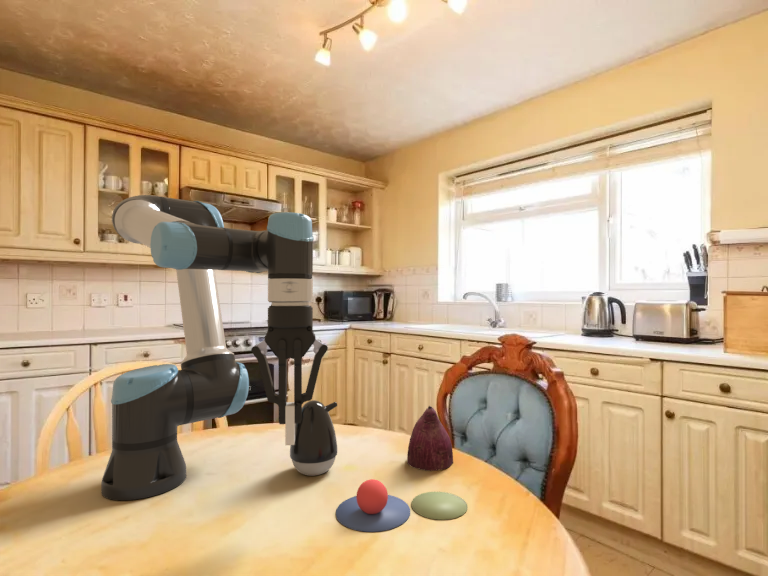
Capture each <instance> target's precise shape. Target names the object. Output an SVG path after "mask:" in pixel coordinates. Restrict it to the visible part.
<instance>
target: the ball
mask: <svg viewBox="0 0 768 576" xmlns="http://www.w3.org/2000/svg"><path fill="white" fill-rule="evenodd" d="M388 495H389V494H388V490H387V488H386V486H385V484H384V483H383V482H382V481H380V480H377V479H375V478H373V479H372V478H371V479H370V478H369V479H366V480H365V481H364V482H362V483H361V484H360V485H359V487H358V489H357V492H356V495H355V496H356V498H357V503H358V506H359V507H360V509H361V510H362V511H364V512H365V513H367V514H377V513H379V512H380V511H382V510H383V509H384V507H385V506H386V504H387V500H388Z"/></svg>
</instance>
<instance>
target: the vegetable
mask: <svg viewBox="0 0 768 576" xmlns="http://www.w3.org/2000/svg"><path fill="white" fill-rule="evenodd" d="M436 411H437V410H436V409H435V408H434V407H432V406H431V405H428V407H427V408H426V409H425V410H424V412H423V413H422V415H420V417H419V418H418V420H416V422H415V424H414V427H413V429H412V431H411V435H410V438H409V443H408V448H407V455H406V456H407V458H406V461H407V464H408V466H409V467H412V468H414V469H418V470H422V471H425V472H427V471H428V472H436V471H438V472H439V471H442V470H446V469H449V468H450V467H451V466H452V465H453V464H454V454H453V452H454V451H453V445H452V441H451V437H450V436H449V434H448V432H447V430H446V427H444V425H443V423H442V422H441V421H440V419H439V417H438V413H437V412H436Z"/></svg>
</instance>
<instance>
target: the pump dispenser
mask: <svg viewBox="0 0 768 576" xmlns="http://www.w3.org/2000/svg"><path fill="white" fill-rule="evenodd" d="M336 407H338V402H336V401H334V402H331V403H330V404H326V405H324V403H323V402H321V401H319V400H316V399H315V400H312V399H311V400H310V401H306V402H304V403H303V404H302V420H301V423H296V424H295V444H294V445H289V446H290V447H289V457H290V459H291V463H292V465H293V467H294V468H295V470H296V471H297V472H299V473H300V474H303V475H304V476H305V475H306V476H309V477H310V476H314V477H315V476H319V475H323V474H325V473H326V472H328V471H329V470H330V469H331V468H332V467H333V465H334V463H335V460H336V456H337V455H338V443H337V442H338V441H337V437H336V430H335V426H334V424H333V421H332V418H331V415H330V413H329V412H331V411H332V410H333V409H335V408H336Z"/></svg>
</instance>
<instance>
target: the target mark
mask: <svg viewBox="0 0 768 576" xmlns="http://www.w3.org/2000/svg"><path fill="white" fill-rule="evenodd" d="M356 496H357V495H355V496H352V497H349V498H347V499H345V500H343V501H342V502H341V503H340V504H338V506H337V508H336V510H335V517H336V520H337V521H338V522H339V523H340V524H341V525H343V526H344V527H346V528H348V529H350V530H354V531H359V532H365V533H376V532H377V533H378V532H386V531H390V530H394V529H395V528H398V527H400V526H402V525H403V524H405V523H406V522H407V521H408V520H409V519H410V516H411V508H410V506H409V504H408V503H407V502H406V501H405V500H403V499H401V498H399V497H397V496H394V495H391V494H388V500H387V504H386V506H385V507H384V509H383V510H382V511H380V512H379V513H377V514H367V513H365V512H364V511H362V510H361V509H360V507H359V506H358V503H357V498H356Z"/></svg>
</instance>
